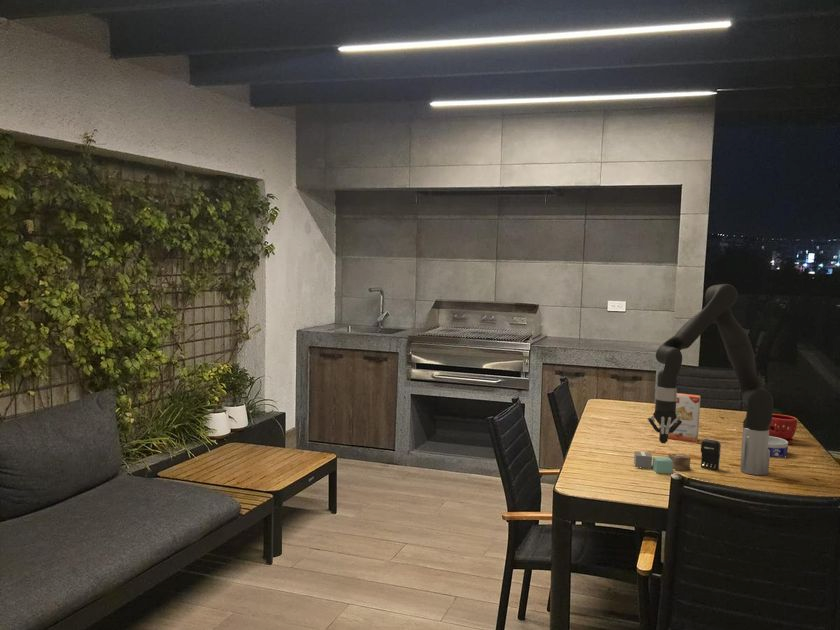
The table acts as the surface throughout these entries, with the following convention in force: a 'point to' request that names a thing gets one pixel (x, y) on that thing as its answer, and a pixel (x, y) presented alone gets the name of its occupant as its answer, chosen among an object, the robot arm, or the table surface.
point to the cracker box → (687, 418)
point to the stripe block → (642, 459)
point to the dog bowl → (777, 447)
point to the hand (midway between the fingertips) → (663, 443)
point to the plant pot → (783, 431)
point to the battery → (710, 454)
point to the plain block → (662, 465)
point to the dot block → (680, 461)
